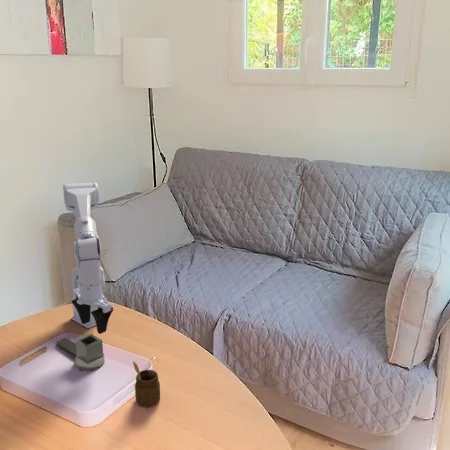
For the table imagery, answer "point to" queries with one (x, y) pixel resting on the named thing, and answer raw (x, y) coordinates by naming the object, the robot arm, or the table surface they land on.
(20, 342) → the table surface
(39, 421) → the table surface
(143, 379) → the utensil holder
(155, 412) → the table surface
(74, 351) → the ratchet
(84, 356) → the hollow square tube
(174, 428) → the table surface
